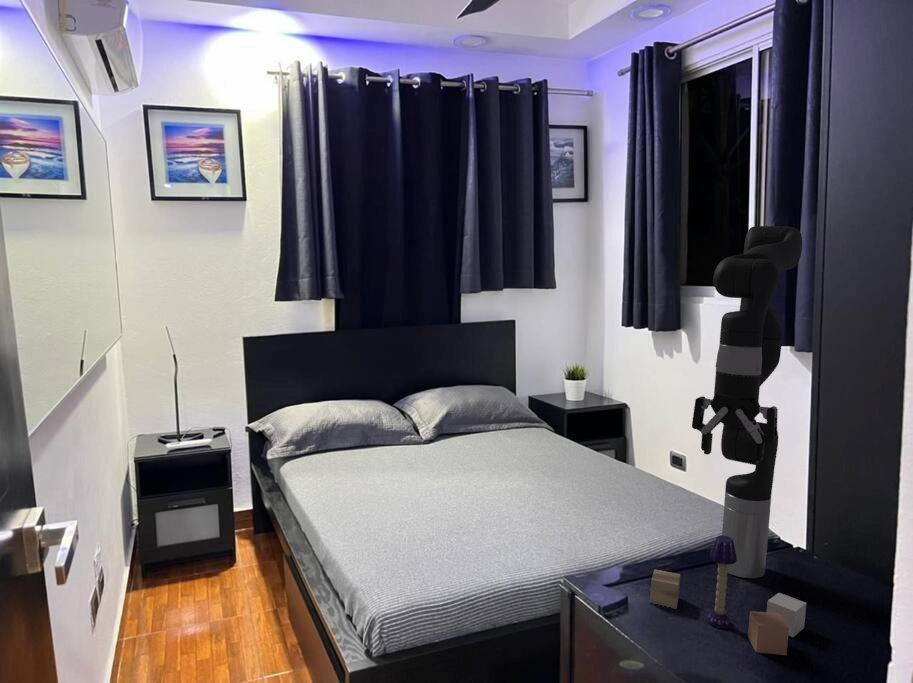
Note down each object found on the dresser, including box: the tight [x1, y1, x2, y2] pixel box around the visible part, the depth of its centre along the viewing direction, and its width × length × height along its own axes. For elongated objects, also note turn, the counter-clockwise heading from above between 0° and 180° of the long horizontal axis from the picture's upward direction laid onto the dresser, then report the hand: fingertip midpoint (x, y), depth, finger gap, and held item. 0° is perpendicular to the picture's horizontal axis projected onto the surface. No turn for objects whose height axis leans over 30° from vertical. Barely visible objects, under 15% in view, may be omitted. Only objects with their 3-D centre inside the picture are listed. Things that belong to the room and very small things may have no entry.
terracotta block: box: [747, 610, 789, 656], centre depth 120 cm, size 5×5×5 cm
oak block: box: [649, 569, 681, 610], centre depth 135 cm, size 5×5×5 cm
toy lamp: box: [706, 534, 737, 630], centre depth 126 cm, size 5×5×17 cm
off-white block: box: [766, 592, 807, 638], centre depth 126 cm, size 5×5×5 cm
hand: (730, 458), depth 124 cm, fingers open, 8 cm apart
